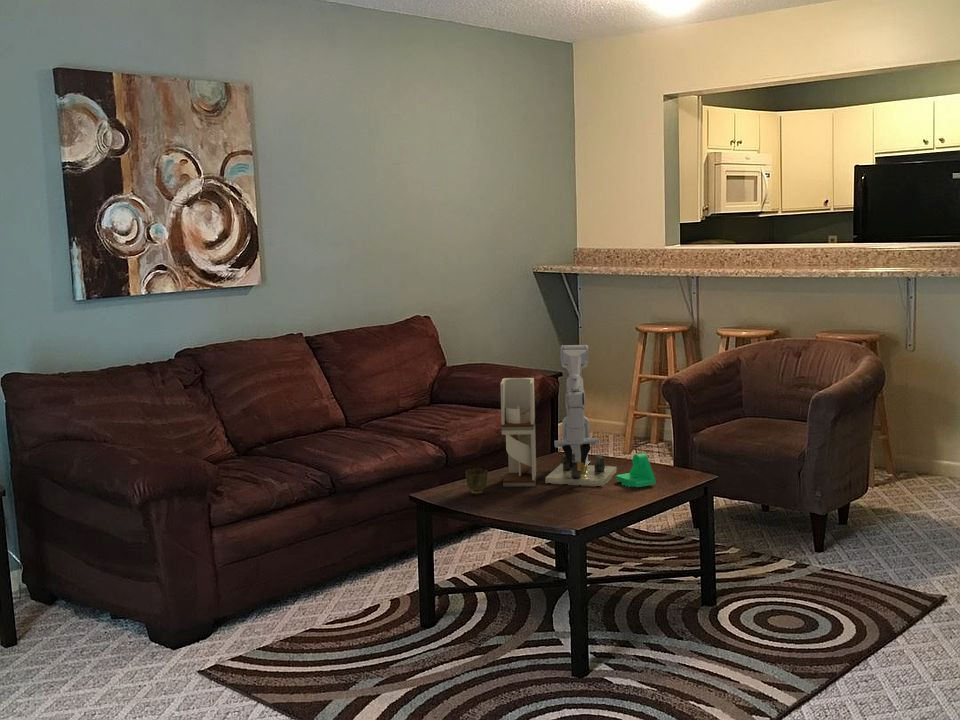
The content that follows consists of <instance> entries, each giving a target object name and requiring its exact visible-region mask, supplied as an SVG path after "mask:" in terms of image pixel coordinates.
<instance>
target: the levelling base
mask: <svg viewBox="0 0 960 720" xmlns="http://www.w3.org/2000/svg"><path fill="white" fill-rule="evenodd" d="M572 460H573V461H575V454H572ZM594 462H595V463H593V464H594V465H593V464H591V465H590V464H589V465H587V464H585V467H584V470H583V471H582V477H580V478H573V477H571V469H569V465H568V461H567V457H566V455H565V454H564V455H560V464H559V465H558V466H557V467H556V468H555V469H554V470H552V471H550V473H548V475H546V476H545V478H544V479H545V480H544V481H545V482H544V483H545V484H547V483H551V484H550V485H563V484H568V486H579V485H581V486H582V487H596V486H601V488H604V487H605V486H606V485H607V484H608V482H609V481H611V480H612V478H613V477H614V476H615V475H614V474H615V473H616V474H617V472H618V471H617V468H618V467H617V466H611V465H606V463H605V457H603V456H602V455H600V454H595V456H594ZM613 475H614V476H613ZM612 476H613V477H612ZM606 483H607V484H606ZM605 484H606V485H605ZM604 485H605V486H604Z"/></svg>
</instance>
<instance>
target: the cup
mask: <svg viewBox="0 0 960 720" xmlns="http://www.w3.org/2000/svg"><path fill="white" fill-rule="evenodd" d="M488 471H489V469H487V468H485V469H484V470H483V467H482V468H480V467H477V468H475V467H473V469H471V468H469V469H466V470H465V471H464V472H465V479H466V485H467V487H468V488H469V490H471V494H472V495H473V494H474V495H473V496H480V494H481V495H482V494H483V492H484V491H483V490H484V489H486V486H487V483H488Z"/></svg>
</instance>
